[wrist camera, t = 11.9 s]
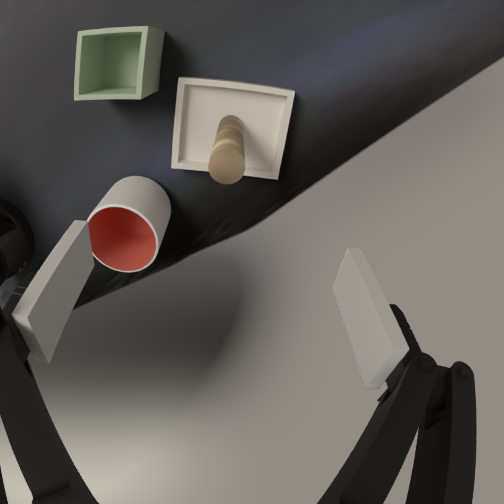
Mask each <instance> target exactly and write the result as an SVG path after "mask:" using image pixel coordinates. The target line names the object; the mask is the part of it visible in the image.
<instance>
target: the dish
mask: <svg viewBox="0 0 504 504" xmlns="http://www.w3.org/2000/svg"><path fill="white" fill-rule="evenodd" d="M294 94H295V91H294V90H292V89H287V88H281V87H275V86H269V85H263V84H256V83H249V82H241V81H233V80H223V79H213V78H201V77H187V76H181V77H179V79H178V88H177V98H176V109H175V121H174V133H173V148H172V165H171V168H176V169H187V170H198V171H208V172H209V170H208V164H209V160H210V156H211V152H212V148H213V145H214V141H215V137H216V134H217V130H218V126H219V123H220V121H221V119H222V118H223V117H225V116H228V115H234V116H237V117H238V118H239V119H240V120H241V122H242V125H243V139H244V154H245V172H244V174H243V175H245V176H253V177H261V178H268V179H276V180H278V176H279V171H280V166H281V161H282V156H283V151H284V146H285V140H286V135H287V130H288V125H289V120H290V115H291V110H292V105H293V100H294Z"/></svg>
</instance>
